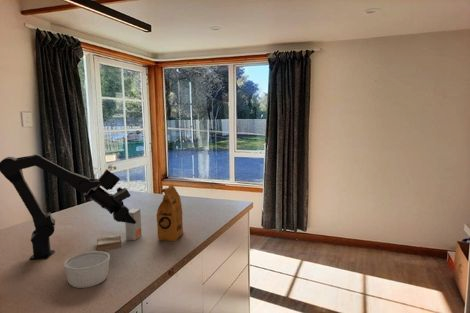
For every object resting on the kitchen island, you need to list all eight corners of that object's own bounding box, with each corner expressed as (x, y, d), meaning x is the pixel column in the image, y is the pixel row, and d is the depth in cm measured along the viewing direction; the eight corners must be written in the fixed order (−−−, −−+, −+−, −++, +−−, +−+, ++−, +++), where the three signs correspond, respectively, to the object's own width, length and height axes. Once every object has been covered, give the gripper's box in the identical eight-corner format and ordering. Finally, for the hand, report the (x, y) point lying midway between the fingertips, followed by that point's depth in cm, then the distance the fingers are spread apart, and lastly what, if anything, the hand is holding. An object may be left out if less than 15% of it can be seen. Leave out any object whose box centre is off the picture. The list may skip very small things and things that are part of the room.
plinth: (121, 247, 130) (121, 241, 129) (97, 251, 126) (96, 245, 126) (120, 239, 138) (120, 234, 138) (97, 243, 135) (97, 237, 134)
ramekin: (108, 266, 114) (106, 247, 113) (114, 283, 102) (112, 262, 101) (65, 276, 107) (63, 256, 106) (66, 295, 96) (64, 272, 95)
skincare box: (135, 240, 137) (133, 212, 135) (126, 240, 137) (124, 212, 136) (142, 235, 143) (140, 208, 141) (133, 234, 143) (131, 208, 142)
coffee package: (153, 241, 136) (150, 189, 133) (165, 230, 148) (162, 183, 145) (176, 242, 134) (174, 189, 131) (186, 231, 146) (184, 183, 143)
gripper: (120, 187, 126) (151, 210, 133) (113, 179, 142) (141, 200, 149) (100, 210, 124) (132, 232, 130) (95, 199, 140) (124, 219, 146)
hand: (133, 219), depth 139 cm, fingers open, 9 cm apart
